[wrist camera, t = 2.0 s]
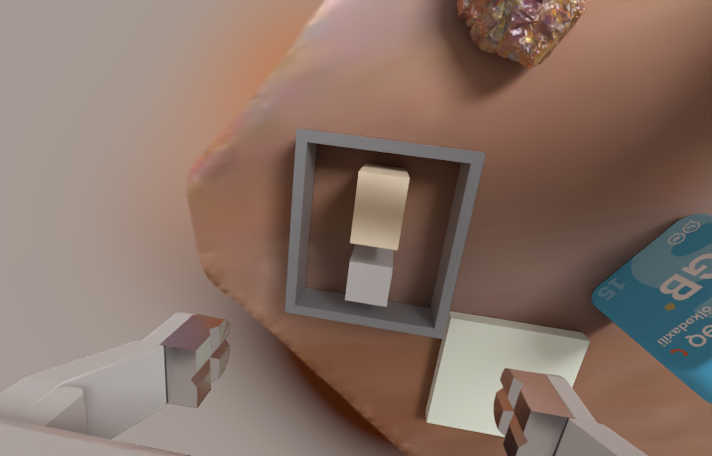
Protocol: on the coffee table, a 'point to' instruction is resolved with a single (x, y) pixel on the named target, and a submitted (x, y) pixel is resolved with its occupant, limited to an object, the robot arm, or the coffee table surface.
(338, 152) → the coffee table surface
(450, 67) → the coffee table surface
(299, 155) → the bin
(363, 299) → the grey box
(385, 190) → the birch box
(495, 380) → the board
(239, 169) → the coffee table surface
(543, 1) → the mineral specimen
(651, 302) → the data package
